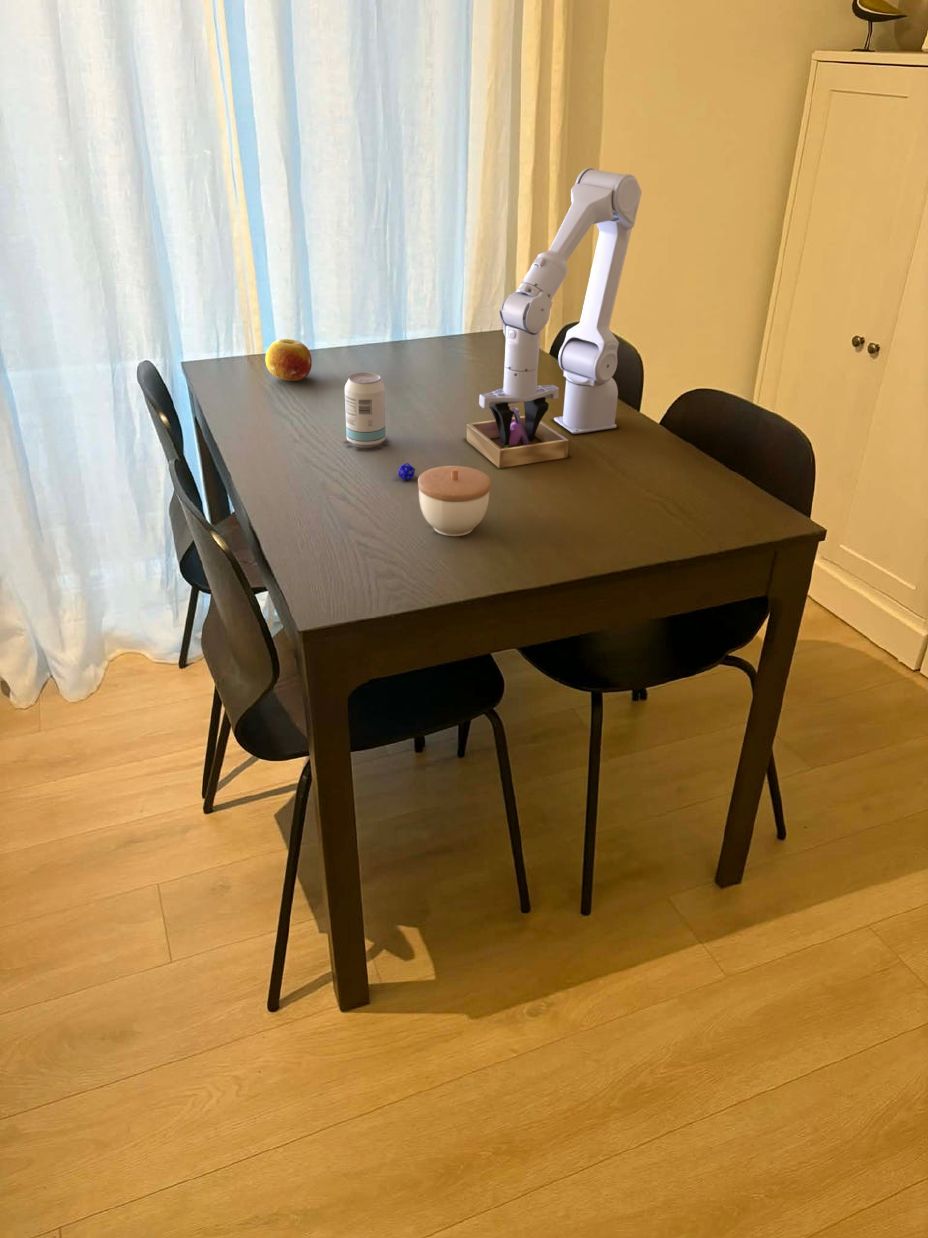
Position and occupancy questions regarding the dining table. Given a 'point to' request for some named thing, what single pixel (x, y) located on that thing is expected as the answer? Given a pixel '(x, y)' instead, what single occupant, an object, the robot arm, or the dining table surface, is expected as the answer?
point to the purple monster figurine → (517, 430)
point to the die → (406, 471)
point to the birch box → (548, 450)
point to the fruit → (288, 360)
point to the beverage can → (365, 409)
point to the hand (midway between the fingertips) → (516, 441)
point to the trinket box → (453, 498)
